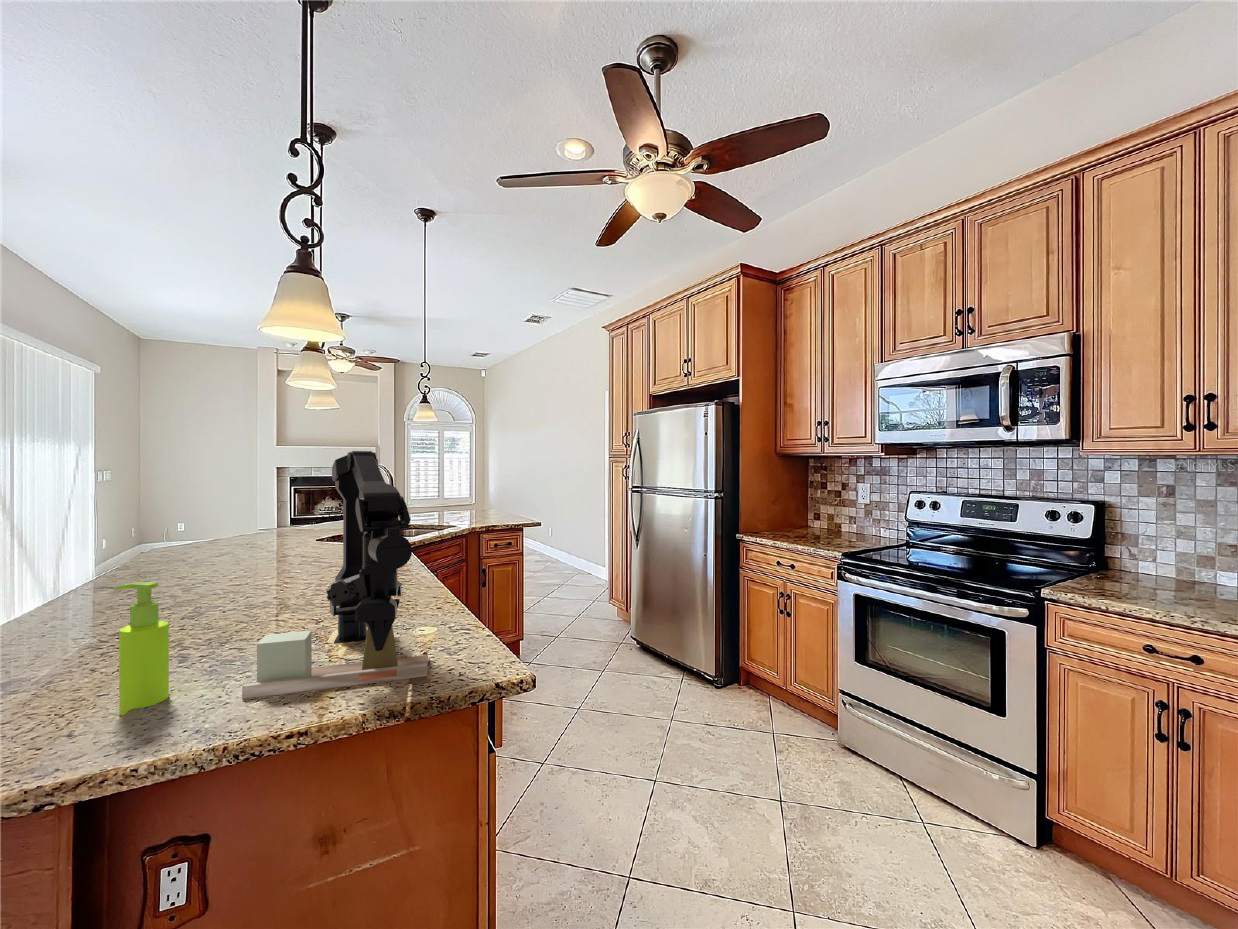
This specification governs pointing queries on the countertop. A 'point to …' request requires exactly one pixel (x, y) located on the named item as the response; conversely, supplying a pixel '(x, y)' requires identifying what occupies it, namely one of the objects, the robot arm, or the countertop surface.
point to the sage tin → (284, 656)
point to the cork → (379, 652)
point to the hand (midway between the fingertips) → (380, 646)
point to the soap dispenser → (143, 653)
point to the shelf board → (342, 677)
